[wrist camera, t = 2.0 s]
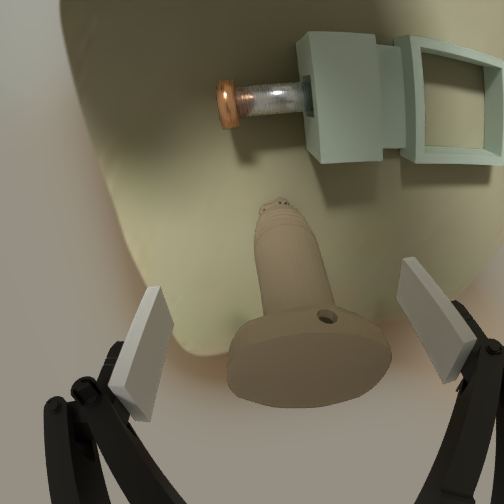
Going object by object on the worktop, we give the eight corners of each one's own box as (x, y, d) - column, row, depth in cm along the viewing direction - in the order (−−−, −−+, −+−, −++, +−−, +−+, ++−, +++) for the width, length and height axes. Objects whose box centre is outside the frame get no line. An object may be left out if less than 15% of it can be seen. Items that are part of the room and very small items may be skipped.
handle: (241, 181, 22) (233, 326, 9) (323, 193, 23) (410, 333, 10) (233, 238, 24) (222, 404, 11) (310, 247, 25) (362, 405, 12)
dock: (293, 33, 16) (306, 18, 12) (487, 60, 16) (522, 63, 11) (307, 159, 21) (321, 177, 17) (488, 157, 20) (520, 173, 16)
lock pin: (219, 82, 18) (214, 80, 15) (322, 73, 17) (335, 70, 14) (225, 126, 19) (222, 132, 16) (326, 117, 19) (340, 121, 16)
